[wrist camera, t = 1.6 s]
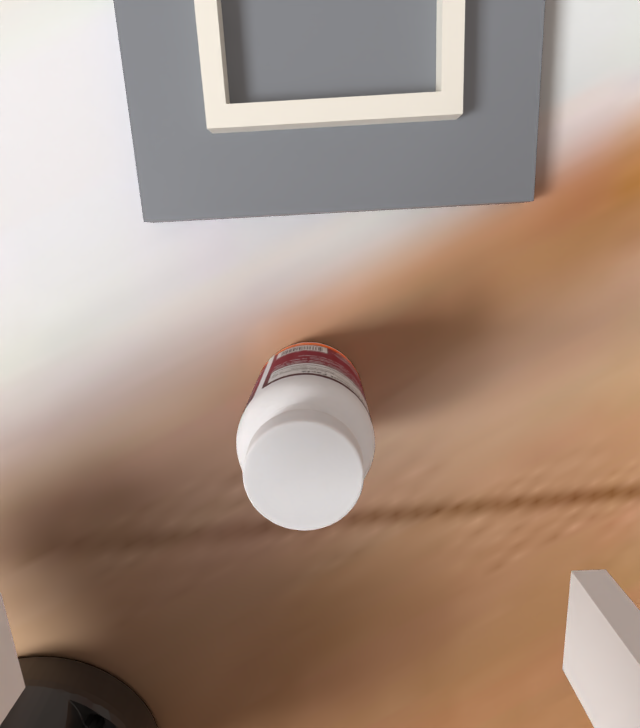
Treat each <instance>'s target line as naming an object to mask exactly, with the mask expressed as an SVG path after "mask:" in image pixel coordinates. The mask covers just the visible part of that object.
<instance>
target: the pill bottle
mask: <svg viewBox="0 0 640 728" xmlns="http://www.w3.org/2000/svg"><path fill="white" fill-rule="evenodd" d="M236 448H237V456H238V460H239V463H240V466H241V469H242V471H243V483H244V487H245V490H246V493H247V496H248V498H249V500H250V501H251V503H252V504H253V506H254V507H255V508H256V509H257V511H258V512H259V513H260V514H262V515H263V516H264V517H265V518H267V519H268V520H270V521H271V522H273V523H275V524H277V525H279V526H282V527H285V528H288V529H293V530H304V531H307V530H315V529H320V528H324V527H327V526H329V525H332V524H333V523H335V522H337V521H339V520H340V519H342V518H343V517H344V516H345V515H347V514H348V513H349V511H350V510H351V509H352V508H353V507H354V505H355V504H356V502H357V500H358V498H359V496H360V494H361V491H362V487H363V483H364V478H365V477H366V475H367V473H368V471H369V469H370V467H371V464H372V461H373V457H374V452H375V435H374V429H373V424H372V420H371V417H370V413H369V409H368V406H367V403H366V399H365V395H364V392H363V388H362V384H361V381H360V377H359V375H358V373H357V371H356V369H355V368H354V366H353V364H352V363H351V362H350V361H349V359H348V358H347V357H346V356H344V355H343V354H342V353H341V352H339V351H338V350H336V349H334V348H333V347H330V346H328V345H325V344H321V343H316V342H302V343H297V344H293V345H290V346H287V347H285V348H283V349H282V350H280V351H279V352H277V353H276V354H275V355H274V356H272V357H271V358H270V359H269V361H268V362H267V363H266V364H265V366H264V367H263V369H262V371H261V373H260V375H259V377H258V380H257V382H256V384H255V386H254V389H253V391H252V394H251V396H250V398H249V401H248V403H247V405H246V408H245V410H244V412H243V414H242V417H241V420H240V423H239V426H238V431H237V438H236Z"/></svg>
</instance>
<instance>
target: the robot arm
mask: <svg viewBox="0 0 640 728" xmlns="http://www.w3.org/2000/svg"><path fill="white" fill-rule="evenodd" d="M563 671H564V673H565V675H566V677H567V678H568V680H569V682H570V684H571V686H572V688H573V689H574V691H575V693H576V695H577V697H578V699H579V701H580V702H581V704H582V706H583V708H584V710H585V712H586V713H587V715H588V717H589V719H590V721H591V723H592V724H593V726H594V728H640V610H639V609H638V608H637V607H636V606H635V604H634V603H633V602H632V601H631V599H630V598H629V597H628V596H627V595H626V593H625V592H624V591H623V590H622V589H621V587H620V586H619V585H618V584H617V583H616V581H615V580H614V579H613V578H612V577H611V575H610V574H609V573H608V572H607V571H606V569H605V570H579V571H571V579H570V590H569V602H568V613H567V624H566V635H565V647H564V658H563ZM0 728H157V725H156V722H155V720H154V718H153V716H152V714H151V713H150V711H149V709H148V708H147V706H146V705H145V704H144V702H143V701H142V700H141V699H140V698H139V697H138V696H137V695H136V694H135V693H134V692H133V691H132V690H131V689H130V688H129V687H128V686H126V685H125V684H124V683H123V682H121V681H120V680H118V679H117V678H115V677H113V676H112V675H110V674H108V673H106V672H104V671H102V670H100V669H98V668H96V667H93V666H91V665H88V664H85V663H81V662H78V661H74V660H70V659H64V658H56V657H28V658H21V659H18V656H17V653H16V649H15V645H14V641H13V637H12V633H11V630H10V626H9V622H8V618H7V614H6V610H5V606H4V603H3V599H2V595H1V593H0Z"/></svg>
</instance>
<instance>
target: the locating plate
mask: <svg viewBox="0 0 640 728" xmlns="http://www.w3.org/2000/svg"><path fill="white" fill-rule="evenodd" d="M114 8H115V15H116V22H117V30H118V37H119V44H120V52H121V59H122V66H123V73H124V81H125V88H126V95H127V103H128V110H129V117H130V125H131V132H132V139H133V146H134V154H135V161H136V168H137V176H138V183H139V190H140V198H141V205H142V212H143V219H144V222H152V223H155V222H174V221H192V220H211V219H229V218H248V217H267V216H285V215H304V214H322V213H341V212H359V211H378V210H397V209H415V208H434V207H452V206H471V205H489V204H508V203H524V202H530V201H534V188H535V171H536V153H537V135H538V118H539V100H540V82H541V65H542V47H543V30H544V12H545V0H114Z"/></svg>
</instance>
